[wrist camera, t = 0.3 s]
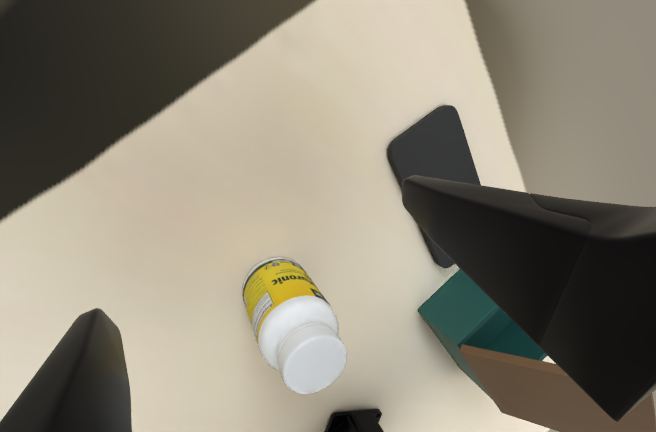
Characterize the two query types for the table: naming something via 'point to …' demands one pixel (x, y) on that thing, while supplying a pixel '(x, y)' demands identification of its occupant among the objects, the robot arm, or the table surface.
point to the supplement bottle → (294, 325)
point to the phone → (434, 157)
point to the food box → (474, 323)
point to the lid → (548, 395)
